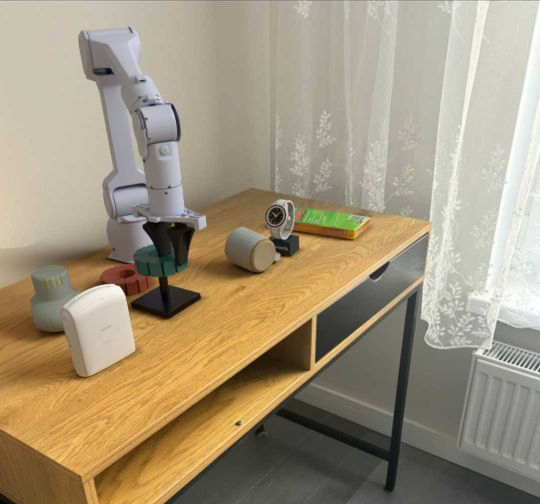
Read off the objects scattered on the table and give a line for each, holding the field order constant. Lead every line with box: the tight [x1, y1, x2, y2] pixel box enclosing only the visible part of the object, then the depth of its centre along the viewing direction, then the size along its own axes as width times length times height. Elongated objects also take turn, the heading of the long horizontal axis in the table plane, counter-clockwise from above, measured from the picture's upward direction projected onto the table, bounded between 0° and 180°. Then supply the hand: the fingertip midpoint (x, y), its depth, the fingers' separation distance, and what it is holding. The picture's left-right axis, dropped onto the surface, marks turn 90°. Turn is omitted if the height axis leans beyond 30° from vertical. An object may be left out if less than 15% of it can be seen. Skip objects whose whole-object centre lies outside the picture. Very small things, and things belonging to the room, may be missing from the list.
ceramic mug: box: [224, 226, 281, 273], centre depth 123 cm, size 11×8×8 cm
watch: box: [264, 198, 300, 257], centre depth 128 cm, size 6×8×11 cm
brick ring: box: [99, 263, 152, 297], centre depth 118 cm, size 9×9×3 cm
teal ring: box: [133, 243, 189, 278], centre depth 107 cm, size 9×9×3 cm
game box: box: [292, 206, 371, 240], centre depth 142 cm, size 3×10×20 cm
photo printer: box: [60, 284, 136, 378], centre depth 92 cm, size 10×4×12 cm, turn 140°
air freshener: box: [29, 264, 81, 333], centre depth 104 cm, size 11×8×10 cm
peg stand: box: [130, 275, 202, 320], centre depth 110 cm, size 9×9×7 cm
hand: (174, 262), depth 106 cm, fingers closed on teal ring, 3 cm apart
